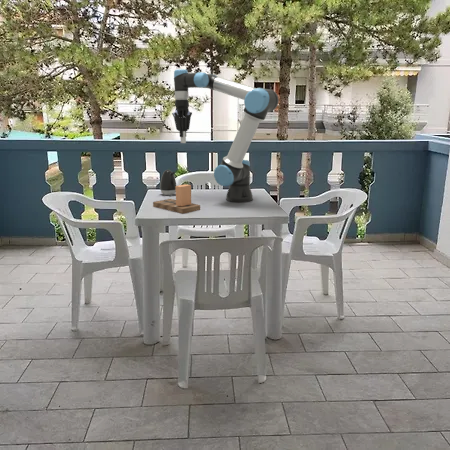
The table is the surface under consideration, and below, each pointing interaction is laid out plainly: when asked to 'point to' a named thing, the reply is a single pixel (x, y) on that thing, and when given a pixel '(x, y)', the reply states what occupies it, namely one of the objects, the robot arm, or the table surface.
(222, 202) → the table surface
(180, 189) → the fader knob
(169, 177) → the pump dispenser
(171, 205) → the fader board
